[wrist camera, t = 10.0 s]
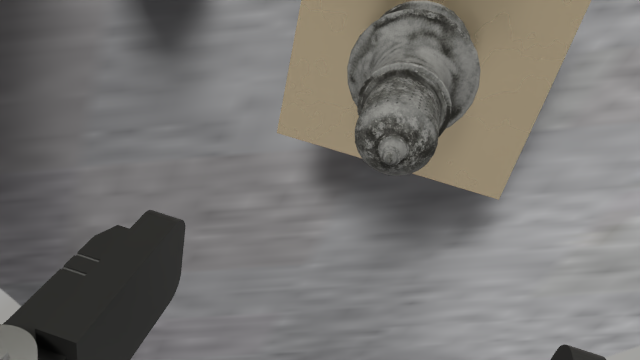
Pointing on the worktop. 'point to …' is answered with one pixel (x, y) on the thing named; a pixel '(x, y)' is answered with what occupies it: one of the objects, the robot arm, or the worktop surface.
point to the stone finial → (410, 84)
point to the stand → (489, 103)
